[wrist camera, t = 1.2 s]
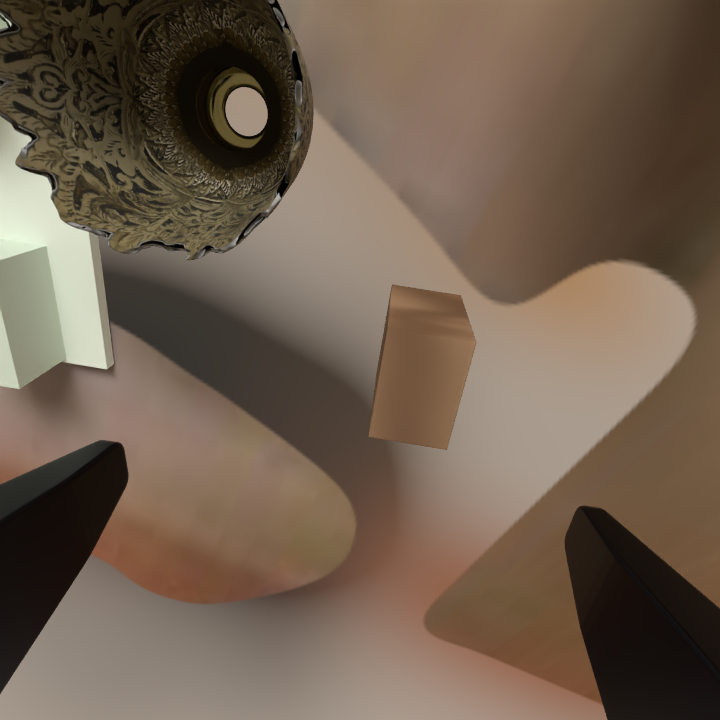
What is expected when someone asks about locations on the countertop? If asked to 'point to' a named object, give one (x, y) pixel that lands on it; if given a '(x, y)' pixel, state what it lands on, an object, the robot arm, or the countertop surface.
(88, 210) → the cup
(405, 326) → the brown rectangular block
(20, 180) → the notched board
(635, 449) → the countertop surface
